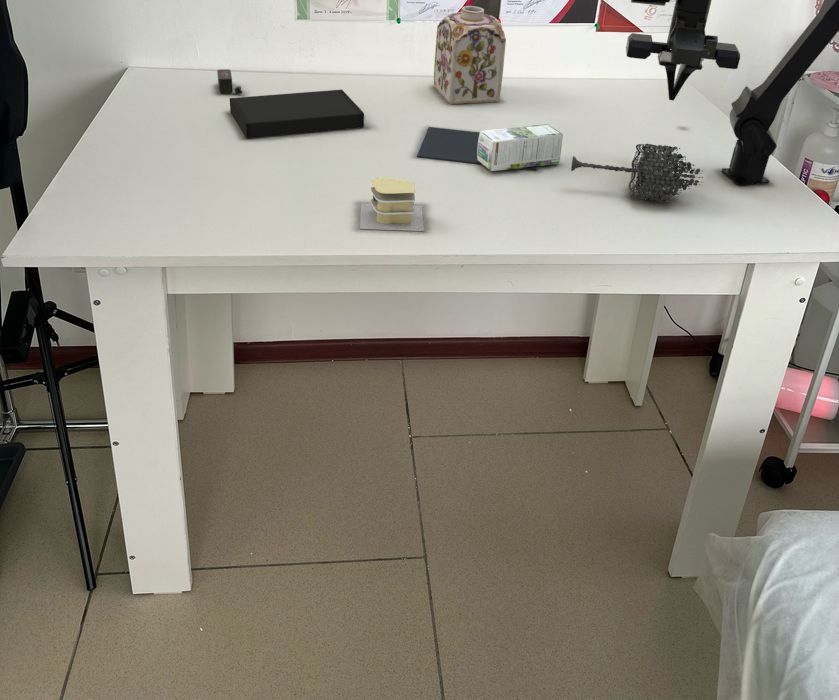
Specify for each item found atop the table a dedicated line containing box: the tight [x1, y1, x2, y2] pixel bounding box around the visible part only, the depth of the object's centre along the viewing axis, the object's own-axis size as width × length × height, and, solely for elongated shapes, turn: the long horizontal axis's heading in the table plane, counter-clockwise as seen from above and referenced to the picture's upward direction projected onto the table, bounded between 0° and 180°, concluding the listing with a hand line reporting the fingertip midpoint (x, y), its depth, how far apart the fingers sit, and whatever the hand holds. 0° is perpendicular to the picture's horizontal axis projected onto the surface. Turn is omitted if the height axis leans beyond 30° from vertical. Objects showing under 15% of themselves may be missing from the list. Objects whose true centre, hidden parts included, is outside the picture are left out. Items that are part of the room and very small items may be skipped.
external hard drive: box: [229, 89, 365, 139], centre depth 177 cm, size 14×23×3 cm, turn 112°
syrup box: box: [477, 123, 564, 172], centre depth 164 cm, size 6×6×14 cm
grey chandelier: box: [570, 143, 704, 203], centre depth 155 cm, size 9×22×9 cm, turn 82°
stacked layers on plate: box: [359, 176, 425, 232], centre depth 144 cm, size 10×9×6 cm
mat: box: [416, 126, 538, 172], centre depth 171 cm, size 22×15×1 cm
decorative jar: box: [433, 5, 507, 105], centre depth 191 cm, size 12×12×18 cm
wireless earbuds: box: [216, 68, 243, 95], centre depth 189 cm, size 5×7×3 cm, turn 13°
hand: (671, 99), depth 161 cm, fingers closed
